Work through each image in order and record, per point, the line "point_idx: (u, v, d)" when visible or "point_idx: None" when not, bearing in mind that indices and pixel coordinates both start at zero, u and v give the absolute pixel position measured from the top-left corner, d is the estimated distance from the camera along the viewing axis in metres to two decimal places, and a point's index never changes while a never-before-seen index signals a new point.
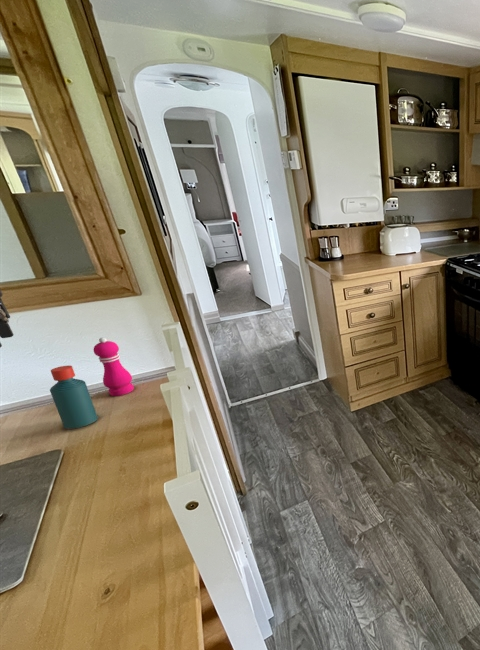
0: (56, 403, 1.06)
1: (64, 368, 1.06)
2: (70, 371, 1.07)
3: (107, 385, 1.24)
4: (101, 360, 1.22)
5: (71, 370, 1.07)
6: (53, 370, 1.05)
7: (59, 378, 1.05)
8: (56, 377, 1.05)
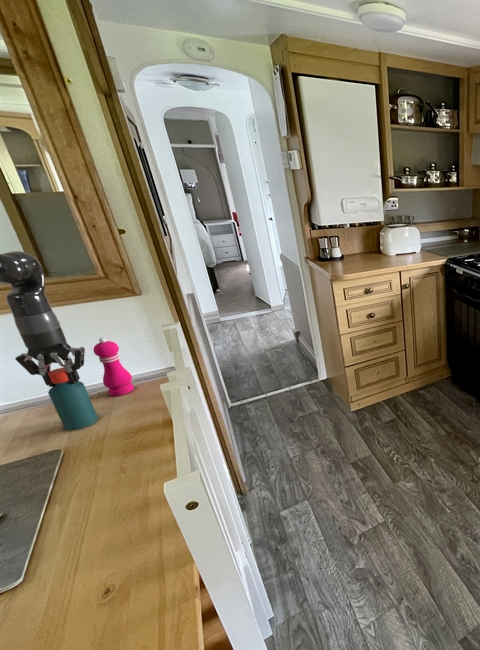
0: (55, 405, 1.06)
1: (61, 371, 1.05)
2: None
3: (107, 385, 1.24)
4: (101, 360, 1.22)
5: None
6: (50, 373, 1.04)
7: (57, 381, 1.04)
8: (54, 380, 1.04)
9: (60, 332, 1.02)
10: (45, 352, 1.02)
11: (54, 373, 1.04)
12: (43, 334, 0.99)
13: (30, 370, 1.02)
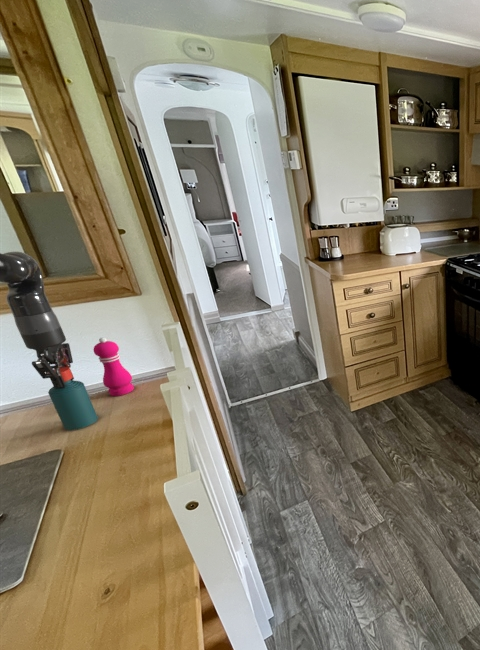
0: (55, 405, 1.06)
1: (62, 368, 1.06)
2: None
3: (107, 385, 1.24)
4: (101, 360, 1.22)
5: None
6: (61, 371, 1.05)
7: (71, 376, 1.07)
8: (69, 376, 1.06)
9: None
10: (54, 350, 1.03)
11: (65, 370, 1.06)
12: None
13: (53, 372, 1.01)
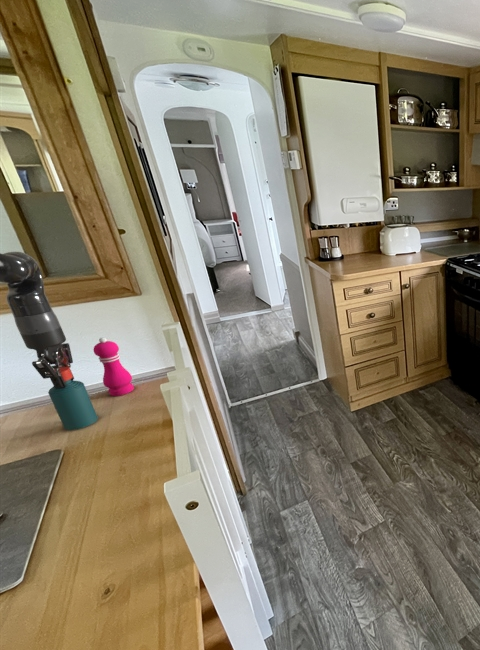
0: (55, 405, 1.06)
1: None
2: None
3: (107, 385, 1.24)
4: (101, 360, 1.22)
5: None
6: (66, 367, 1.07)
7: None
8: None
9: None
10: (55, 350, 1.03)
11: (62, 367, 1.07)
12: None
13: (54, 372, 1.01)
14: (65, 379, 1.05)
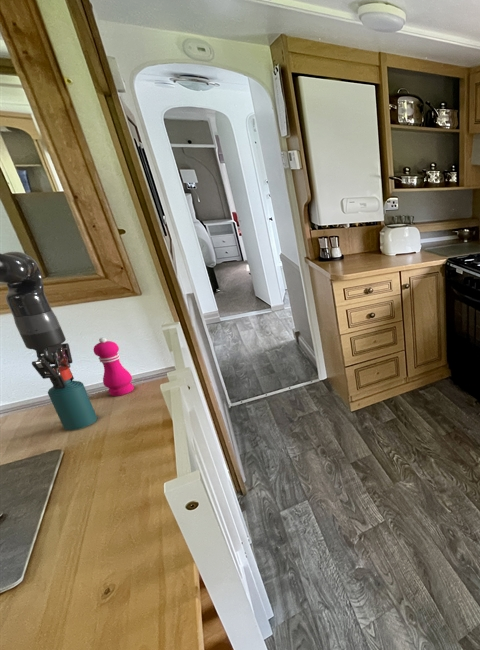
0: (55, 405, 1.05)
1: None
2: None
3: (107, 385, 1.24)
4: (101, 360, 1.22)
5: None
6: None
7: None
8: None
9: None
10: (54, 350, 1.03)
11: None
12: (60, 327, 1.04)
13: (53, 372, 1.01)
14: None
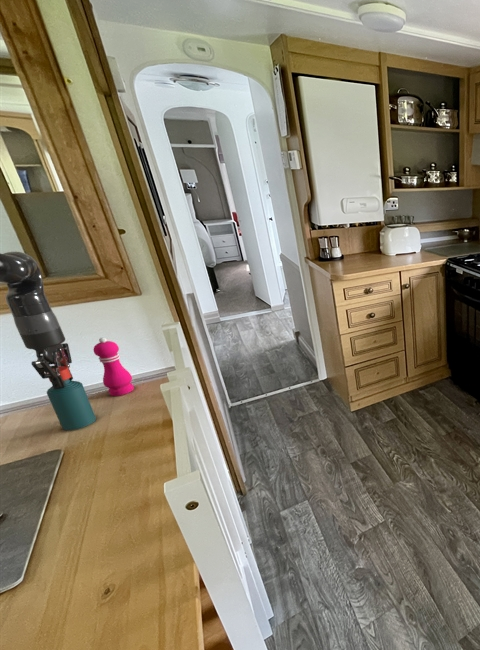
0: (53, 405, 1.05)
1: (60, 369, 1.05)
2: (66, 372, 1.06)
3: (107, 385, 1.24)
4: (101, 360, 1.22)
5: (67, 371, 1.06)
6: None
7: None
8: None
9: None
10: (54, 350, 1.03)
11: None
12: (60, 327, 1.04)
13: (53, 372, 1.01)
14: None
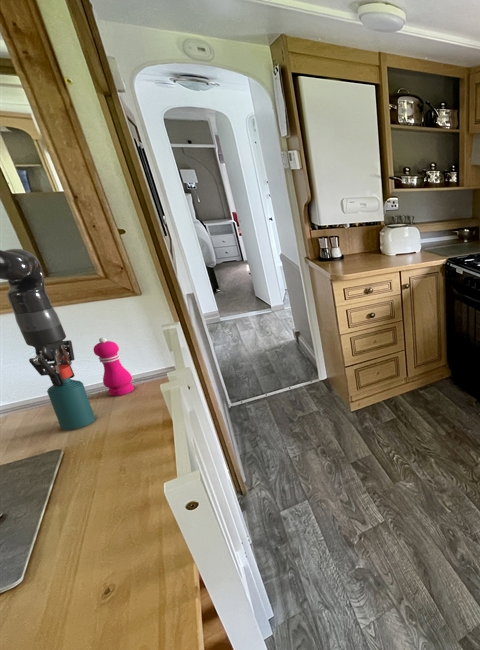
0: (53, 404, 1.05)
1: (62, 366, 1.06)
2: None
3: (107, 385, 1.24)
4: (101, 360, 1.22)
5: None
6: (60, 369, 1.05)
7: (70, 373, 1.07)
8: (68, 373, 1.06)
9: None
10: (54, 347, 1.03)
11: (65, 367, 1.06)
12: None
13: (51, 369, 1.01)
14: None
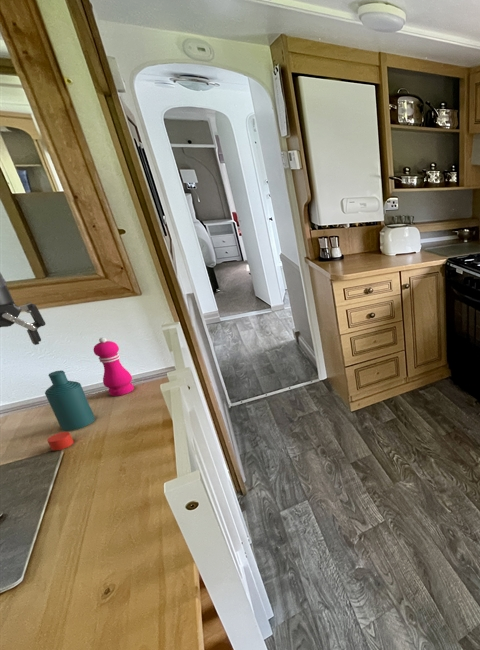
0: (52, 406, 1.05)
1: (53, 437, 1.01)
2: None
3: (107, 385, 1.24)
4: (101, 360, 1.22)
5: (48, 442, 1.00)
6: (64, 433, 1.03)
7: None
8: None
9: None
10: None
11: (58, 434, 1.02)
12: None
13: None
14: (70, 443, 1.02)
